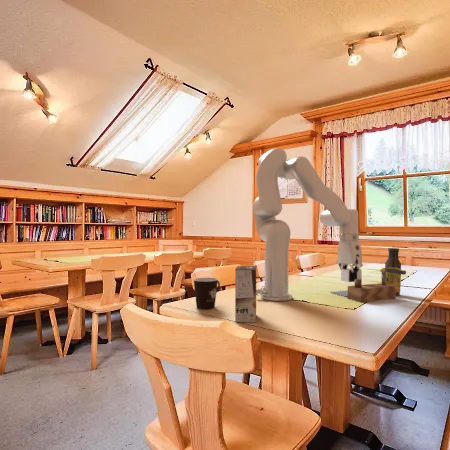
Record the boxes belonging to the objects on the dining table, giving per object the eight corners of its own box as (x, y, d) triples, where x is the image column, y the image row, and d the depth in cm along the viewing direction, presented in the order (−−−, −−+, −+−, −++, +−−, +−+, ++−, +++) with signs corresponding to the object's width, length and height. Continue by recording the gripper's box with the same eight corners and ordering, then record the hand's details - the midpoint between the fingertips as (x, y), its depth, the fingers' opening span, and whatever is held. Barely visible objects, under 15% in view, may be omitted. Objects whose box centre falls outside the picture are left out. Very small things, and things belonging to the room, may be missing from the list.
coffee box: (256, 323, 98) (256, 269, 98) (234, 322, 98) (234, 269, 98) (256, 314, 107) (256, 265, 107) (236, 314, 108) (236, 265, 108)
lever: (407, 274, 126) (407, 270, 126) (402, 274, 125) (402, 271, 125) (382, 270, 135) (382, 267, 135) (378, 271, 134) (378, 268, 134)
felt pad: (345, 297, 133) (345, 296, 133) (330, 292, 142) (330, 292, 142) (367, 294, 138) (367, 293, 138) (352, 290, 146) (352, 290, 146)
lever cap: (348, 282, 137) (348, 270, 137) (341, 280, 141) (341, 268, 141) (361, 280, 140) (361, 269, 140) (353, 279, 144) (353, 268, 144)
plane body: (360, 302, 124) (360, 275, 124) (347, 298, 131) (347, 273, 131) (395, 298, 131) (395, 273, 131) (381, 295, 137) (381, 270, 137)
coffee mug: (199, 311, 111) (199, 282, 111) (190, 306, 118) (190, 278, 118) (229, 307, 116) (229, 279, 116) (218, 302, 124) (218, 276, 124)
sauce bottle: (384, 295, 136) (384, 248, 136) (383, 292, 142) (383, 247, 142) (402, 297, 134) (402, 248, 134) (400, 294, 140) (400, 247, 140)
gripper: (370, 238, 133) (371, 283, 133) (342, 237, 149) (342, 277, 149) (356, 238, 131) (357, 284, 131) (328, 237, 146) (329, 278, 146)
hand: (349, 280), depth 140 cm, fingers closed on lever cap, 4 cm apart
